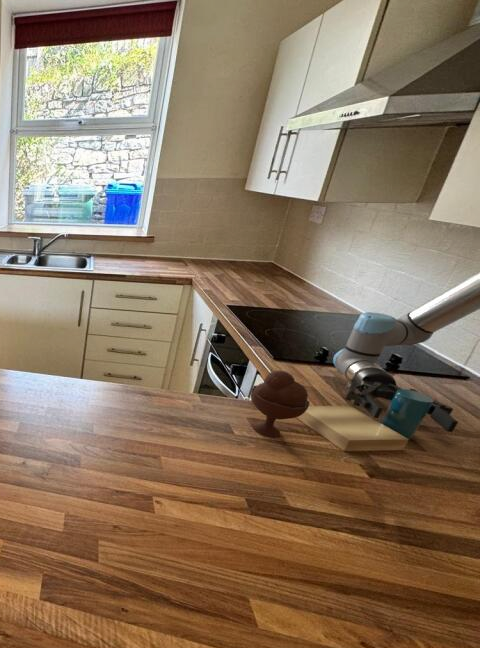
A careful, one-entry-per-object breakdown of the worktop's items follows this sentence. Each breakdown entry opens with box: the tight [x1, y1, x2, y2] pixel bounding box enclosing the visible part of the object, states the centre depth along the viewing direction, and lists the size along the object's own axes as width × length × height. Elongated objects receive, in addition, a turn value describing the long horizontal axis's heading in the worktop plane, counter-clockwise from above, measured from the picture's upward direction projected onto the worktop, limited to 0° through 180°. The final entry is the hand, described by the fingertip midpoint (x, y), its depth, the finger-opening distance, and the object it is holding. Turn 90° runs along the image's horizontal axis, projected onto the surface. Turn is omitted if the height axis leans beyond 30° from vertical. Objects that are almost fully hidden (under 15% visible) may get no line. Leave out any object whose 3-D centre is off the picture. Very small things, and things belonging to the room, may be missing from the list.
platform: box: [295, 405, 410, 452], centre depth 95 cm, size 14×14×3 cm
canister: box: [379, 388, 435, 440], centre depth 94 cm, size 6×6×10 cm
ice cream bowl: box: [250, 370, 310, 439], centre depth 92 cm, size 11×11×15 cm
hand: (414, 419), depth 91 cm, fingers open, 12 cm apart
